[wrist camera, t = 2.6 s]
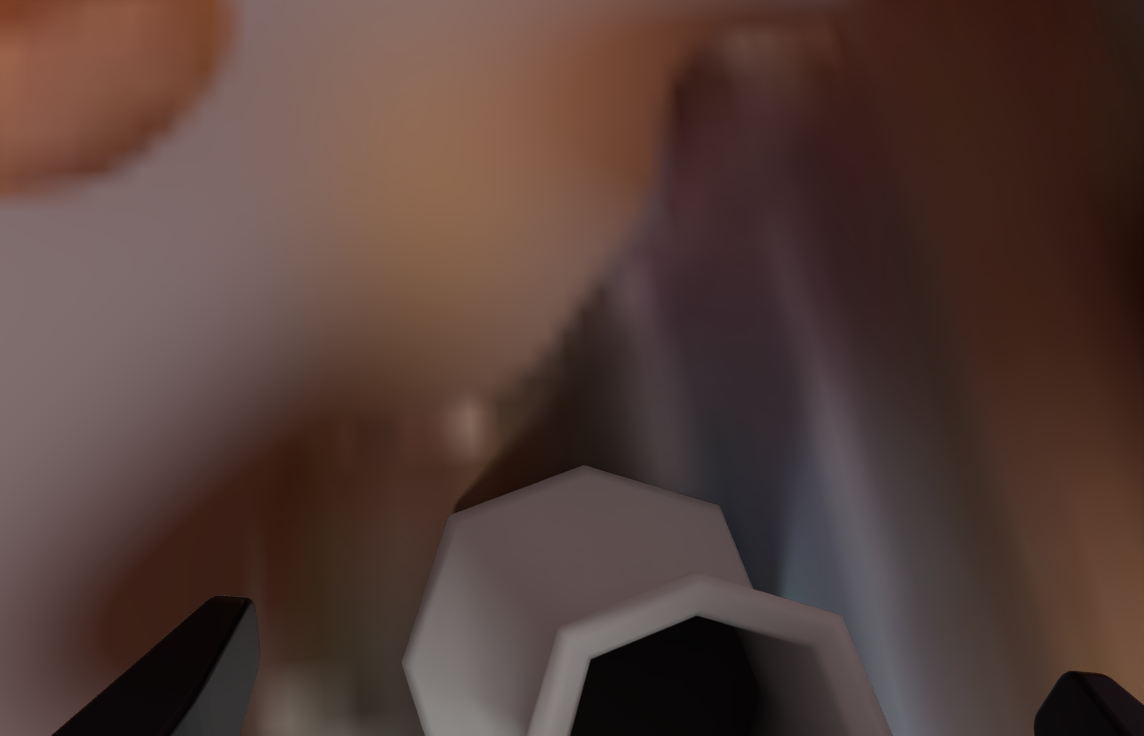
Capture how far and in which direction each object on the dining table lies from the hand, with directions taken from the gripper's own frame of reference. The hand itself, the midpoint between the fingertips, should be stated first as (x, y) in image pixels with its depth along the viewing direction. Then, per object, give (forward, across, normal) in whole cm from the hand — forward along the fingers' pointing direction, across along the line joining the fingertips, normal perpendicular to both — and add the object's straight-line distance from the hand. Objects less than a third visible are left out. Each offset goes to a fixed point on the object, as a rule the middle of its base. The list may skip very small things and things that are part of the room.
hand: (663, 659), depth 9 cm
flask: (+5, 0, +6) cm, 8 cm away
